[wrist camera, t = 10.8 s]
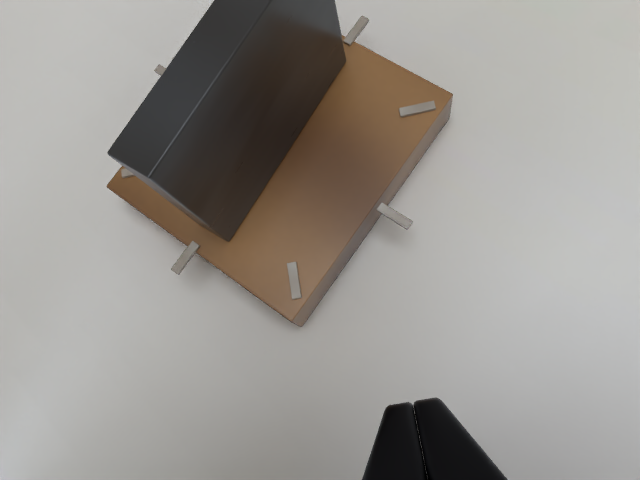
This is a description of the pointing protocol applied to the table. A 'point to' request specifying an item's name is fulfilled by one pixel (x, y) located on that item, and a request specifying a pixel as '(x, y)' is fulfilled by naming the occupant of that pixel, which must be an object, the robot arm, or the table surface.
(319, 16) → the dark grey block
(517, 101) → the table surface
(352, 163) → the brown piece
